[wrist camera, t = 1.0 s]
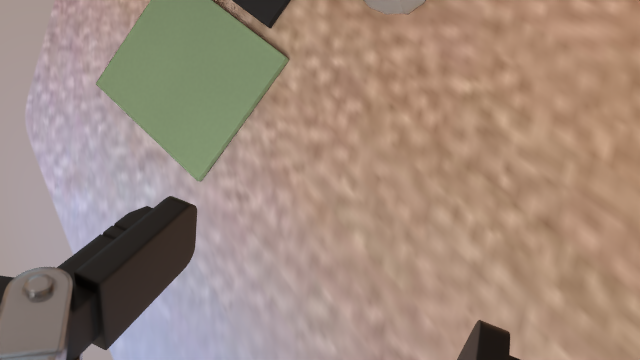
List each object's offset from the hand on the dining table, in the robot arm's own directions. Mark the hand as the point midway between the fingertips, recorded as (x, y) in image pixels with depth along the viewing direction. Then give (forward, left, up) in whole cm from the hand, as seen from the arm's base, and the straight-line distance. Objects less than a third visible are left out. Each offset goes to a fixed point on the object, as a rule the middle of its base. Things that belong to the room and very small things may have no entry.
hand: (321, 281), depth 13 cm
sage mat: (+2, -24, -21) cm, 32 cm away
